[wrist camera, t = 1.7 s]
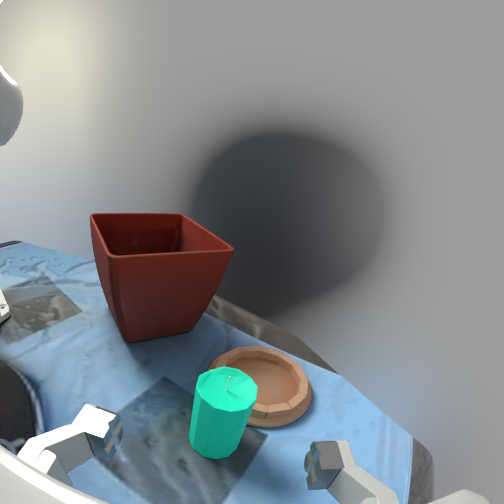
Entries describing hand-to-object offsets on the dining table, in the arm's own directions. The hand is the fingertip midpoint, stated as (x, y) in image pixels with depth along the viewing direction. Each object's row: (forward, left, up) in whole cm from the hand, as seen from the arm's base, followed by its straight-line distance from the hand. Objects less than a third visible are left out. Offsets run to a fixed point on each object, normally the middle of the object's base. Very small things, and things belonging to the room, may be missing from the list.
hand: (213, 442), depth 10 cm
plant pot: (-34, +17, -21) cm, 43 cm away
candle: (-8, +10, -21) cm, 24 cm away
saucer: (-11, +22, -20) cm, 32 cm away
